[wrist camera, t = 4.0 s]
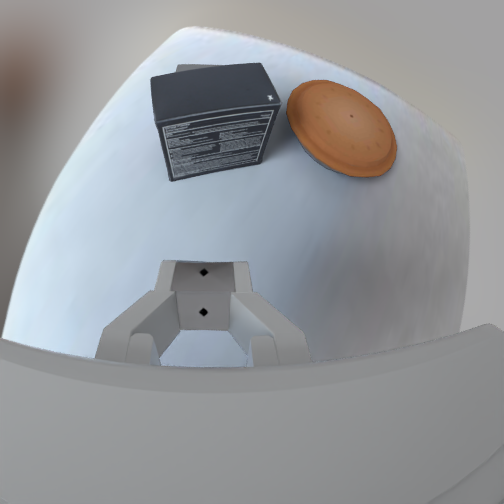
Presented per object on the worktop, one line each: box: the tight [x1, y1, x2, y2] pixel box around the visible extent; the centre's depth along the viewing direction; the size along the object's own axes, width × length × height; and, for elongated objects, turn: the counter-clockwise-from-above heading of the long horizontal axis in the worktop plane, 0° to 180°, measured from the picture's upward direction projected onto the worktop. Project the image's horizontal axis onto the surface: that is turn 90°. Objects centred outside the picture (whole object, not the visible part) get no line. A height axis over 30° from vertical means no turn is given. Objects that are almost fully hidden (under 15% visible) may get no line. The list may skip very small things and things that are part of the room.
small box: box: [150, 63, 282, 182], centre depth 24 cm, size 11×6×10 cm, turn 106°
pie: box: [286, 80, 397, 177], centre depth 30 cm, size 15×16×5 cm
